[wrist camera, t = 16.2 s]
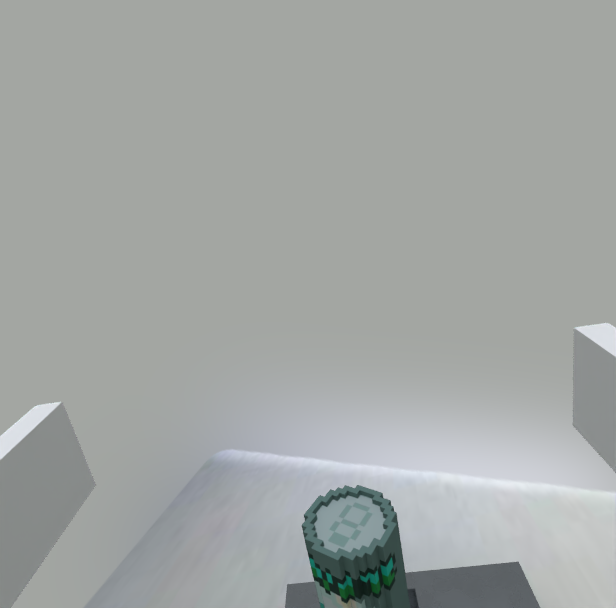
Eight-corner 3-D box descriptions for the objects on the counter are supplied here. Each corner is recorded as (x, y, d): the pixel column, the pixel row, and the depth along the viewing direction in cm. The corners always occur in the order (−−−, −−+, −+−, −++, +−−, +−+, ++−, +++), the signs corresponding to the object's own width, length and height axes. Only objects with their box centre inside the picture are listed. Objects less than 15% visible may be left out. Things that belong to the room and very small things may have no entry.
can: (323, 687, 34) (286, 536, 29) (361, 617, 38) (334, 477, 34) (397, 736, 30) (367, 574, 26) (429, 653, 35) (409, 501, 30)
